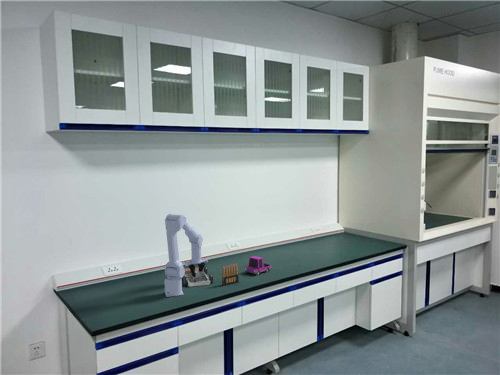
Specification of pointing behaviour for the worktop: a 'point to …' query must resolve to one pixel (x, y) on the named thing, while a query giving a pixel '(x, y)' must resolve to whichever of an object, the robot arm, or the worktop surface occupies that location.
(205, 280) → the chassis
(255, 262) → the toy truck
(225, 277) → the ammunition clip
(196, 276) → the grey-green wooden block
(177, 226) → the robot arm
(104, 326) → the worktop surface
